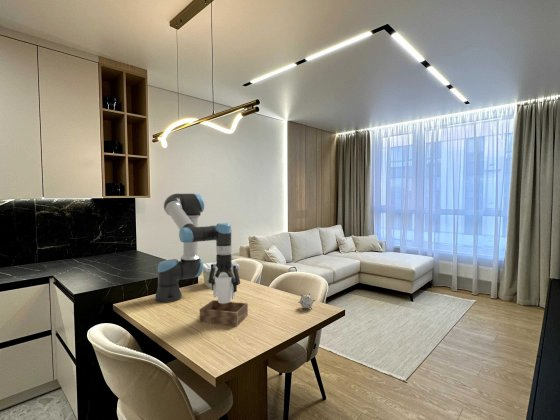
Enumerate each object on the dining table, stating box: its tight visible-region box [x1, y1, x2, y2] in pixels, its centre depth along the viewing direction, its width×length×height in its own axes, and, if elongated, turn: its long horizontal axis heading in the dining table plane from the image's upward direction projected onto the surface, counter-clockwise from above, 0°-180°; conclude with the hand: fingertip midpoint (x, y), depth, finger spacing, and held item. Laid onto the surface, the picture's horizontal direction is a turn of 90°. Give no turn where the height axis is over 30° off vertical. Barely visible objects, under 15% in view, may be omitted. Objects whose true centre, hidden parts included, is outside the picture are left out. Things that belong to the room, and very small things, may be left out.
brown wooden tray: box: [199, 299, 249, 327], centre depth 153 cm, size 20×14×6 cm
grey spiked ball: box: [297, 293, 316, 311], centre depth 168 cm, size 9×8×10 cm
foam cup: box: [215, 274, 233, 304], centre depth 153 cm, size 10×9×13 cm
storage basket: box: [202, 260, 240, 289], centre depth 216 cm, size 24×16×15 cm
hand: (224, 297), depth 153 cm, fingers closed on foam cup, 9 cm apart
